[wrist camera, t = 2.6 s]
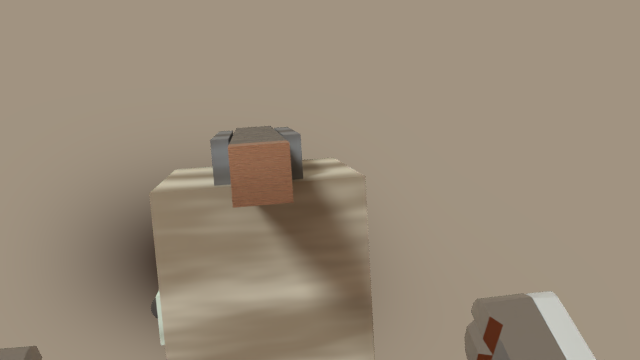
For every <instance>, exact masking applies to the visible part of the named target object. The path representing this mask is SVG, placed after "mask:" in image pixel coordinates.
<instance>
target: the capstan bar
mask: <svg viewBox="0 0 640 360" xmlns="http://www.w3.org/2000/svg"><path fill="white" fill-rule="evenodd" d="M228 156H229V167H230V179H231V191H232V203H233V208H235V207H247V206H259V205H271V204H283V203H294V201H293V186H292V172H291V158H290V143H289V142H288V141H287V140H286V139H285V138H284V137H283V136H281V135H280V134H279V133H278V132H277V131H276V130H274V129H273V128H272V127H271V126H264V127H248V128H236V130H235V132H234V135H233V137H232V139H231V141H230V143H229V145H228Z"/></svg>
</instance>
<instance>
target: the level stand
mask: <svg viewBox="0 0 640 360" xmlns="http://www.w3.org/2000/svg"><path fill="white" fill-rule="evenodd" d="M274 130H276V131H277V132H278V133H279V134H280V135H281V136H283V137H284V138H285V139H286V140H287V141H288V142H289V143H290V158H291V172H292V186H293V201H294V203H283V204H271V205H259V206H247V207H235V208H233V203H232V191H231V179H230V167H229V156H228V145H229V143H230V141H231V139H232V137H233V131H221V132H219V133H218V134H216V135H215V136H214V137H213V138H212V139H211V140H210V142H211V154H212V165H213V167H203V168H189V169H176V170H175V171H174V172H173V173H171V174H170V175H169V176H168V177H167V178H166V179H165V180H164V181H162V182H161V183H160V184H159V185H158V186H157V187H156V188H155V189H154V190H152V191H151V192H150V194H149V195H150V203H151V204H150V205H151V214H152V224H153V234H154V243H155V253H156V263H157V273H158V282H159V291H158V294H157V295H156V298H155V299H154V300H153V302H152V305H151V311H152V313H153V315H154V316H155V317H156V318H158V323H159V333H160V342H161V345H165V350H166V360H375V355H374V336H373V316H372V297H371V278H370V260H369V259H370V258H369V240H368V220H367V201H366V183H365V182H366V181H365V176H364V175H362V174H360V173H359V172H357V171H355V170H354V169H352V168H350V167H349V166H347V165H345V164H344V163H342V162H340V161H339V160H337V159H335V158H324V159H310V160H302V151H301V137H300V134H299V133H297V132H295V131H294V130H292V129H290V128H288V127H281V128H274Z"/></svg>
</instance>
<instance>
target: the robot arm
mask: <svg viewBox="0 0 640 360" xmlns="http://www.w3.org/2000/svg"><path fill="white" fill-rule="evenodd" d="M471 313H472V315H473V317H474V321H473V322H472V323H470V324H469V325H468V326H467V329H466V334H465V351H466V355H467V359H468V360H596V358H595V356H594V355H593V353H592V352H591V350H590V348H589V347H588V345H587V344H586V342H585V340H584V339H583V337H582V335H581V334H580V332H579V331H578V329H577V328H576V326H575V324H574V322H573V321H572V319H571V318H570V316H569V315H568V313H567V311H566V310H565V308H564V306H563V305H562V303H561V302H560V300H559V298H558V297H557V295H556V294H554V293H553V292H552V291H548V292H538V293H529V294H515V295H506V296H498V297H489V298H481V299H477V300H476V301H475V302H474V303H473V306H472V310H471ZM41 359H42V356H41V354H40V352H39V350H38V348H37V347H36V346H29V347H17V348H4V349H0V360H41Z"/></svg>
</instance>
